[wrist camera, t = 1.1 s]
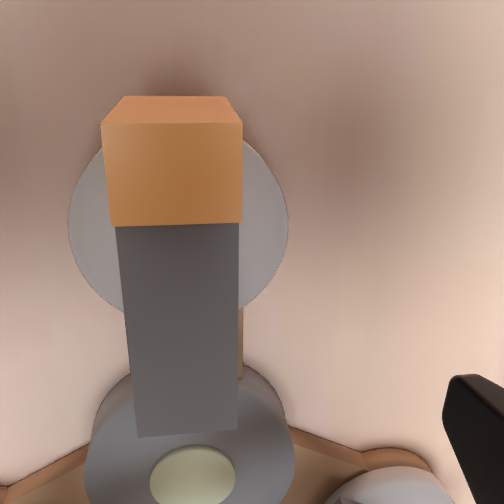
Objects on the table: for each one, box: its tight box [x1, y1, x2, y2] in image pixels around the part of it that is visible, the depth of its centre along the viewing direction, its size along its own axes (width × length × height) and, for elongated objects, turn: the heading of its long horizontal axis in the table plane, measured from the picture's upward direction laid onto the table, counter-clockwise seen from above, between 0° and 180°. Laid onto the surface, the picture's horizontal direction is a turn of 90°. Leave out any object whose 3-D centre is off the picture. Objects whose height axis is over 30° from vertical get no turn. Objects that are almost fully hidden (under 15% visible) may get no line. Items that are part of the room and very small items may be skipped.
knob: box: [68, 96, 288, 438], centre depth 13 cm, size 8×6×5 cm
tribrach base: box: [0, 307, 432, 504], centre depth 19 cm, size 23×21×2 cm
